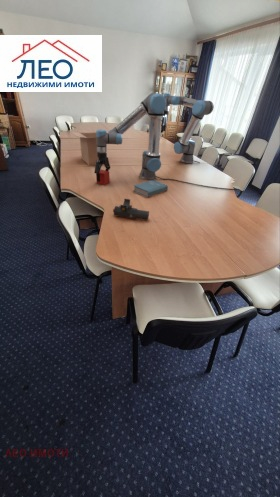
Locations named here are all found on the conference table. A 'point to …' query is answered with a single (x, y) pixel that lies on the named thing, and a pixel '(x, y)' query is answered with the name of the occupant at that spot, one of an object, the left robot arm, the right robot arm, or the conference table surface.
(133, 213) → the laser sight
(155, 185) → the book
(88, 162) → the box
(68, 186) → the conference table surface
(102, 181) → the brick
